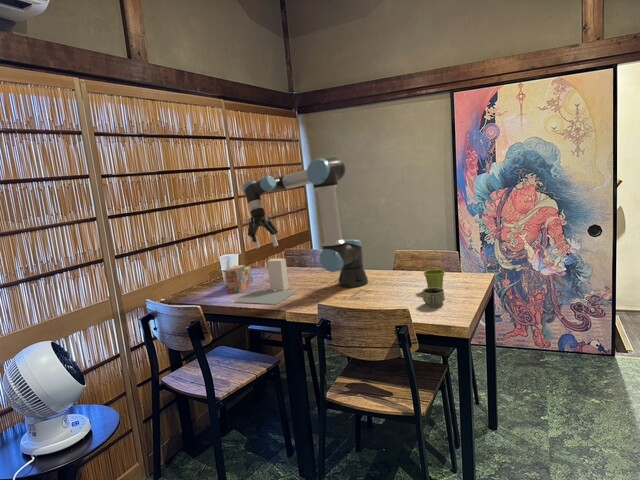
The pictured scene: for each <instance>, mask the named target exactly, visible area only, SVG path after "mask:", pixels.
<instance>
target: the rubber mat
mask: <svg viewBox="0 0 640 480" xmlns="http://www.w3.org/2000/svg"><path fill="white" fill-rule="evenodd" d="M294 293H295V294H296V293H298V291H295V290H285V291H273V290H271V289H270V290H268V289H263V290H262V289H256V290H254V291H252V292H250V293H248V294H247V295H245V296H242V297H241V298H239V299H237V300H235V301H234V302H233V303H234V304H252V303H261V304H260V305H272V304H277V305H279V304H280V303H282V302H284V301H285V300H287V299H288V298H290V297H291V296H293V295H295V294H294ZM286 298H287V299H286ZM281 301H282V302H281ZM278 303H279V304H278Z"/></svg>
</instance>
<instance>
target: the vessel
mask: <svg viewBox="0 0 640 480" xmlns="http://www.w3.org/2000/svg"><path fill="white" fill-rule="evenodd" d="M444 290H445V289H444V288H443V287H442V288H437V287H430V288H428V287H426V288H423V289H422V301H423V302H424V306H425V307H427V308H431V309H432V308H439V307H442V306H444V301H445V299H446V297H445V291H444Z"/></svg>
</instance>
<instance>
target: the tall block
mask: <svg viewBox="0 0 640 480" xmlns="http://www.w3.org/2000/svg"><path fill="white" fill-rule="evenodd" d="M286 261H287V260H286V258H271V259H268V260H267V271H268V272H267V273H268V277H269V287H270V290H273V291H274V290H276V291H287V290H288V289H289V288H290V286H289V280H288V279H289V278H288V271H287V270H288V268H287V262H286ZM286 289H287V290H286Z"/></svg>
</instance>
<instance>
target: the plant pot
mask: <svg viewBox="0 0 640 480" xmlns="http://www.w3.org/2000/svg"><path fill="white" fill-rule="evenodd" d="M445 273H446V271H445V270H444V269H443V270H442V269H428V270H424V272H423V275H424V277H425V280H426V285H427V288H430V287H437V288H442V289H443V286H444V284H443V283H444V276H445Z"/></svg>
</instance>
